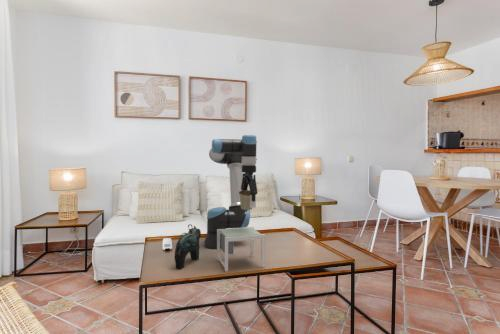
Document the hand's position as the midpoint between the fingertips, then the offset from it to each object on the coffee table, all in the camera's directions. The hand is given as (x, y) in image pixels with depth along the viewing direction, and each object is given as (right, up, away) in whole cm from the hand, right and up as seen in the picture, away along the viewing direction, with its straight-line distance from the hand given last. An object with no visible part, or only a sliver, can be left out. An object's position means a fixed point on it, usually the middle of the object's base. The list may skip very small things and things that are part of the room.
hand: (248, 205), depth 165 cm
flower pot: (-1, -2, +3) cm, 4 cm away
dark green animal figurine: (-31, -30, -1) cm, 43 cm away
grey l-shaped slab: (-4, -23, -1) cm, 23 cm away
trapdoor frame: (-4, -30, -1) cm, 30 cm away
